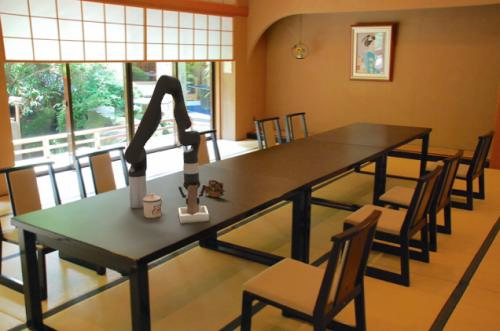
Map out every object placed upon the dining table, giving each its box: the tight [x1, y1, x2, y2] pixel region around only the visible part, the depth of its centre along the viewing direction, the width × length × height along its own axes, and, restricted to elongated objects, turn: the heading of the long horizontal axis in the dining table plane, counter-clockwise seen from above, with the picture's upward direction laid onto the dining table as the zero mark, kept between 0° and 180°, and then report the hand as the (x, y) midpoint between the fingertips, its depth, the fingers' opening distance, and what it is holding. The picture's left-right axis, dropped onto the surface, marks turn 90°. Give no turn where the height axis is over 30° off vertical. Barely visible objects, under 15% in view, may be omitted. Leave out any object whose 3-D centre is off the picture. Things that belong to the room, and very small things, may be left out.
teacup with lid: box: [143, 192, 163, 219], centre depth 253 cm, size 12×9×12 cm
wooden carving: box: [204, 179, 227, 198], centre depth 283 cm, size 16×5×10 cm, turn 53°
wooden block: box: [186, 184, 200, 215], centre depth 246 cm, size 7×3×15 cm, turn 156°
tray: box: [177, 205, 210, 224], centre depth 248 cm, size 14×14×4 cm
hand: (192, 204), depth 247 cm, fingers closed on wooden block, 4 cm apart
